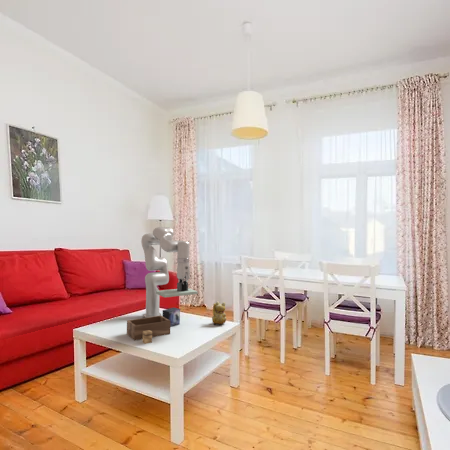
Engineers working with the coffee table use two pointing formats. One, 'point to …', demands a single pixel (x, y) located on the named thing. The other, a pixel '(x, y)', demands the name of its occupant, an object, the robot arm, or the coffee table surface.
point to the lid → (176, 291)
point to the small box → (172, 316)
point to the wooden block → (147, 336)
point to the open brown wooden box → (148, 327)
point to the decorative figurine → (219, 313)
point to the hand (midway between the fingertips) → (182, 289)
